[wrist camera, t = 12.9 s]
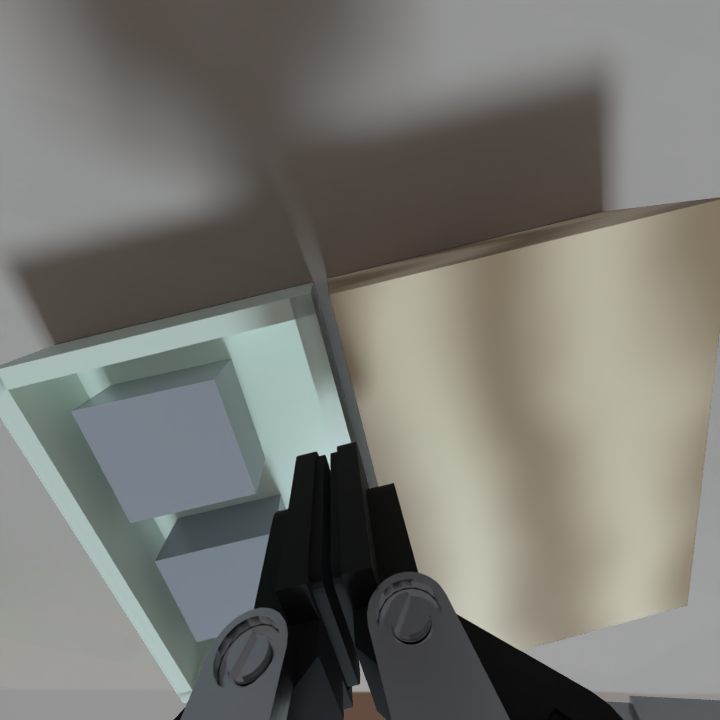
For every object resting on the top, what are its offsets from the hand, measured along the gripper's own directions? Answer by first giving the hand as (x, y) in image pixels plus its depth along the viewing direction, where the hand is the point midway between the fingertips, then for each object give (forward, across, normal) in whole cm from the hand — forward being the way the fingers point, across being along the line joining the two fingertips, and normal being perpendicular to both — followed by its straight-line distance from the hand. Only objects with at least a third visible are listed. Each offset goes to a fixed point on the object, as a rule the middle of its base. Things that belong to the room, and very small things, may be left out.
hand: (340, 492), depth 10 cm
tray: (+7, +5, +3) cm, 9 cm away
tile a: (+4, +6, +6) cm, 10 cm away
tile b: (+4, +6, 0) cm, 7 cm away
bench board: (+7, -7, +3) cm, 10 cm away
